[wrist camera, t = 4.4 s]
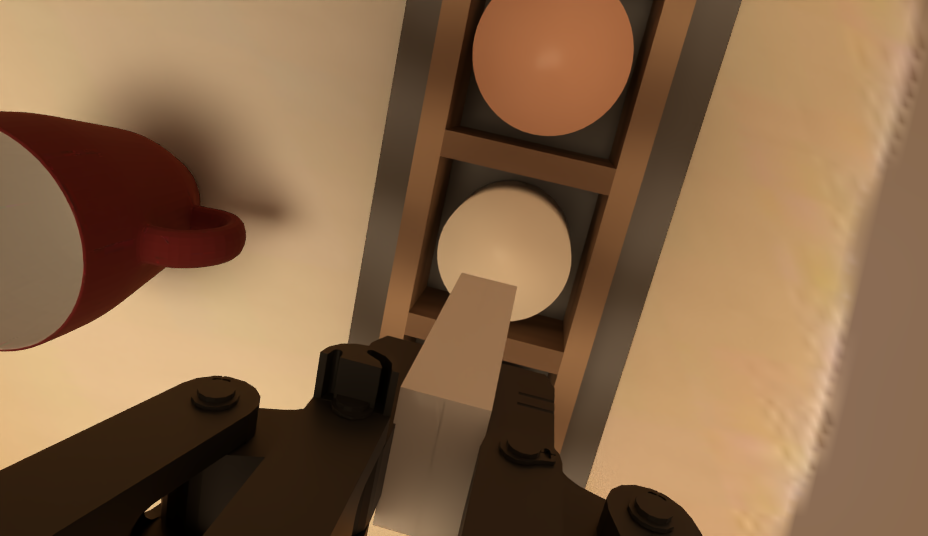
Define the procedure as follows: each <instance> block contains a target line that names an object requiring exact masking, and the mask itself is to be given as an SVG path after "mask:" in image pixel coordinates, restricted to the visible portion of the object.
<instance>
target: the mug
mask: <svg viewBox="0 0 928 536" xmlns="http://www.w3.org/2000/svg"><path fill="white" fill-rule="evenodd" d="M245 240H246V231H245V227H244V223H243V222H242V221H241V220H240V219H239V217H237V216H236V215H234V214H232V213H229V212H226V211H222V210H218V209H213V208H207V207H202V206H200V196H199V190H198V187H197V184H196V182H195V179H194V178H193V176H192V174H191V173H190V171H189V170H188V169H187V168H186V166H185V165H184V164H182V163H181V162H180V161H179V160H178V159H177V158H176V157H174V156H173V155H172V154H171V153H170V152H169V151H167V150H166V149H164V148H163V147H162V146H160V145H159V144H157V143H155V142H154V141H152V140H150V139H148V138H146V137H144V136H142V135H139V134H137V133H134V132H131V131H127V130H123V129H119V128H114V127H109V126H103V125H98V124H92V123H87V122H82V121H76V120H71V119H65V118H60V117H55V116H48V115H42V114H35V113H26V112H3V111H1V112H0V351H18V350H24V349H28V348H32V347H35V346H38V345H41V344H43V343H46V342H48V341H50V340H53V339H55V338H57V337H60V336H62V335H64V334H67V333H69V332H71V331H73V330H75V329H77V328H79V327H81V326H84V325H86V324H88V323H90V322H91V321H93V320H95V319H97V318H99V317H100V316H102V315H104V314H105V313H107V312H108V311H110V310H111V309H113V308H114V307H116V306H117V305H118V304H120V303H121V302H122V301H124V300H125V299H126V298H127V297H129V296H130V295H131V294H132V293H134V292H135V291H136V290H138V289H139V288H140V287H141V286H143V285H144V284H145V283H146V282H148V281H149V280H150V279H152V278H153V277H154V276H155V275H157V274H158V273H159V272H160V271H162V270H163V269H164V268H165V267H169V268H199V267H207V266H213V265H218V264H222V263H225V262H228V261H230V260H232V259H233V258H235V257H236V256H238V255H239V254H240V253H241V251H242V249H243V247H244V245H245Z"/></svg>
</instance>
